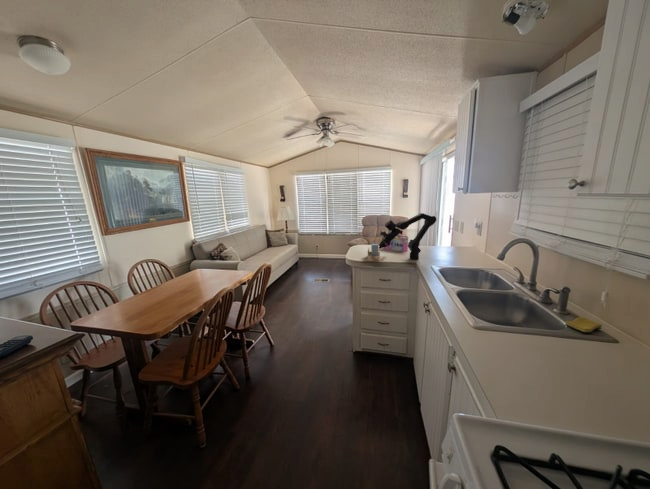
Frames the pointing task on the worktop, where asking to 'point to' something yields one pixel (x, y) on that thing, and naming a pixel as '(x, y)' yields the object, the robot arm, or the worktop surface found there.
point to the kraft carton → (376, 257)
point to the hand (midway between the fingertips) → (378, 247)
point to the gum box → (399, 243)
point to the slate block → (374, 250)
